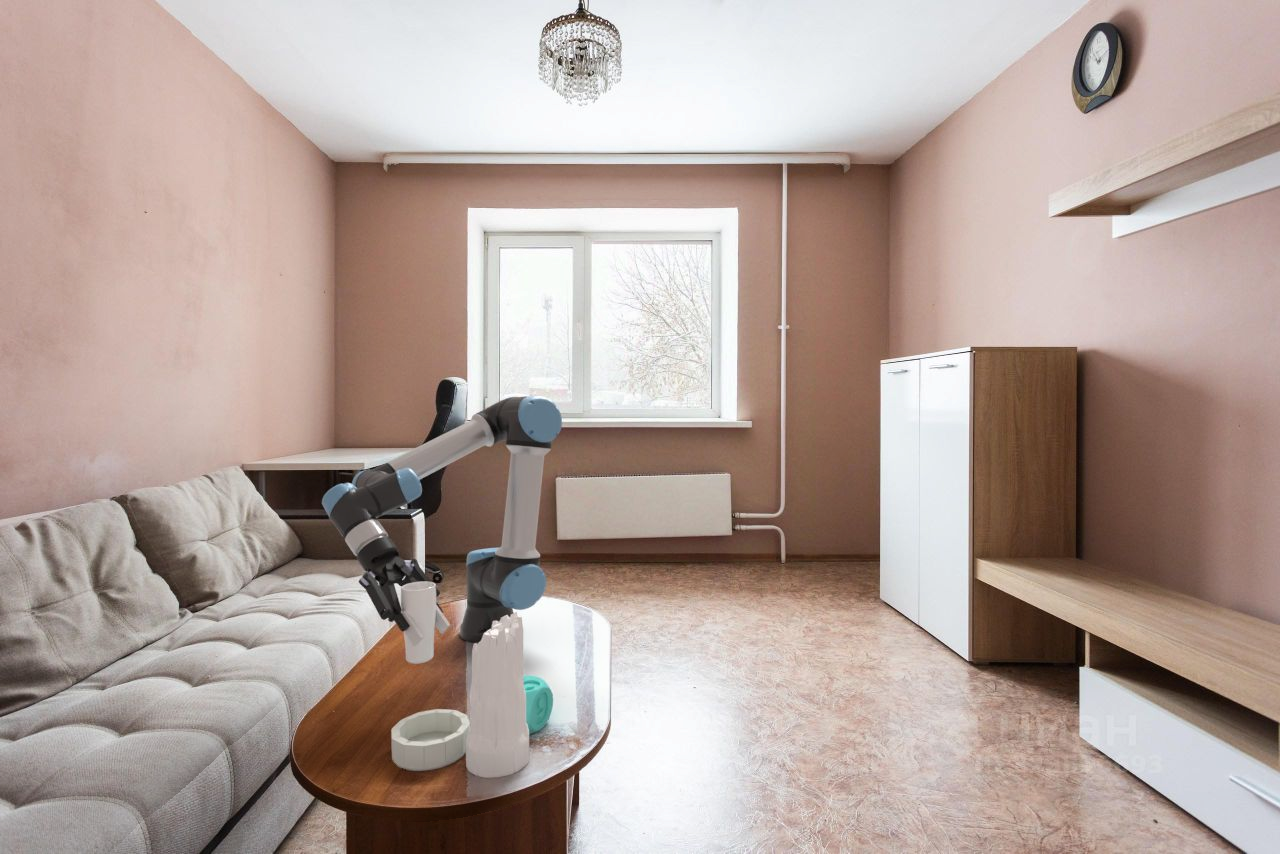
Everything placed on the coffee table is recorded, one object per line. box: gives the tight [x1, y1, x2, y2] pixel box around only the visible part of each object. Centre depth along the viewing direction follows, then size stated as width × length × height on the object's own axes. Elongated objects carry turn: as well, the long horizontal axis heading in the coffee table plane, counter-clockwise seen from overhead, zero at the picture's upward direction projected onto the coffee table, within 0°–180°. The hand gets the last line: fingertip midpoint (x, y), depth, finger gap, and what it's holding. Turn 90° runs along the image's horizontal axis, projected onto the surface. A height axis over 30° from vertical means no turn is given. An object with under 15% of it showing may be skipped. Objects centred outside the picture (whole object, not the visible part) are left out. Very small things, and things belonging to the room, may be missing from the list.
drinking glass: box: [400, 581, 437, 665], centre depth 127 cm, size 7×7×15 cm
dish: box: [390, 708, 470, 772], centre depth 112 cm, size 13×13×4 cm
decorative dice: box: [523, 675, 554, 735], centre depth 121 cm, size 8×8×8 cm
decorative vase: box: [465, 611, 530, 779], centre depth 109 cm, size 11×11×25 cm
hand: (432, 635), depth 126 cm, fingers closed on drinking glass, 6 cm apart
